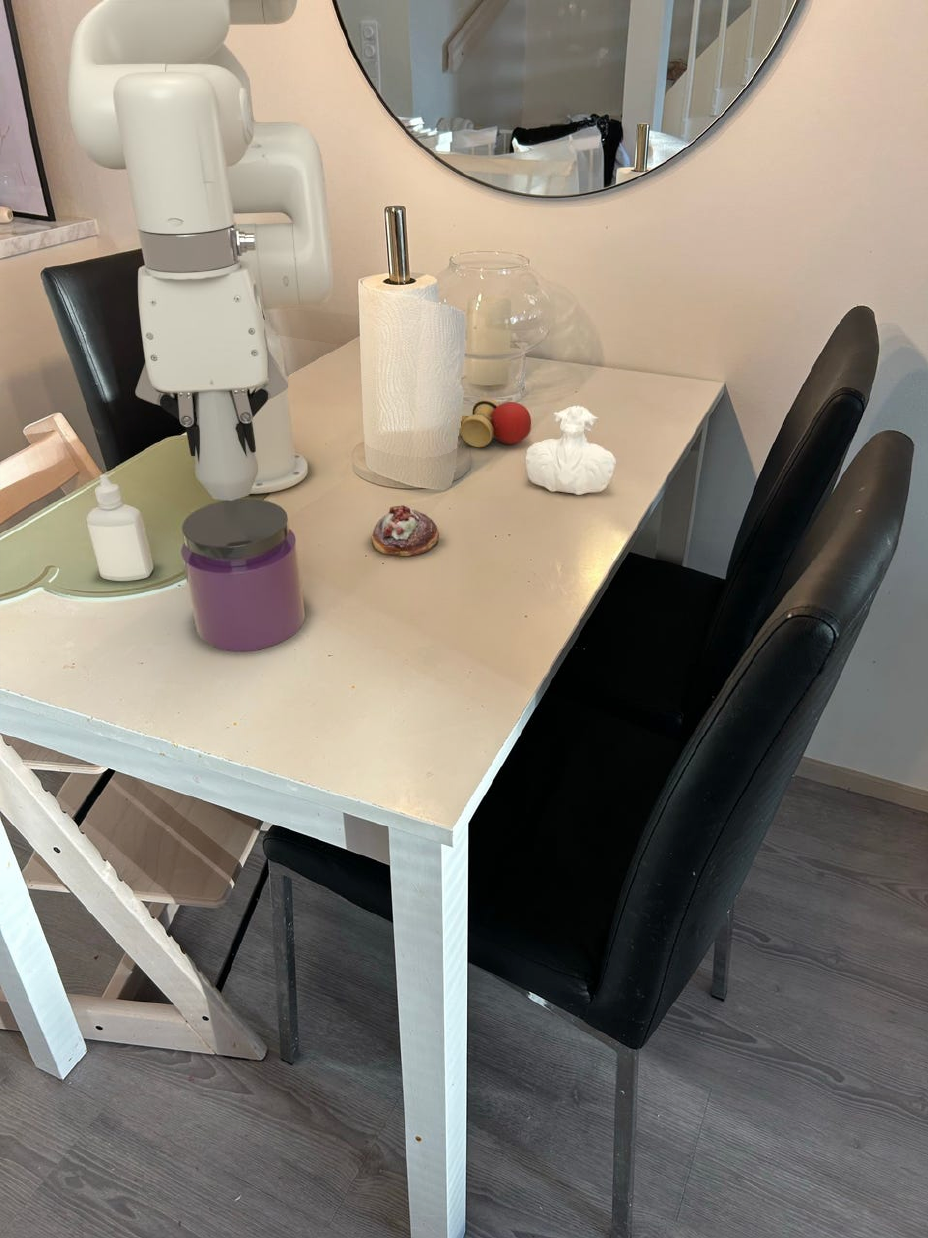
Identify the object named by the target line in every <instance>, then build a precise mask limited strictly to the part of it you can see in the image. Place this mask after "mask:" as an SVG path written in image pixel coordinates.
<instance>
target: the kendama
mask: <svg viewBox="0 0 928 1238" xmlns="http://www.w3.org/2000/svg"><path fill="white" fill-rule="evenodd" d="M461 415H462V414H461ZM531 427H532V418H531V414H530V412H529V410H528V409H527V408H526V407H525V406H524V405H523V404H521V403H519V402H516V401H506V402H503V403H501V404H500V403H499V402H497V401H496V400H494V399H492V398H488V397H483V398H481V399H479V400H477V401H476V402H475V404H473V408H472V414H471V415H464V414H463V415H462V421H461V428H459V429H460V430H459V431H460V432H459V433H460V437H461V438H462V440H463V441H464V442H465V443H466V444H468V445H469V446H471V447H473V448H483V447H486V446H487V445H489V444H490V443H491V441H492V439H493V437H495V439H496V440H498V441H499V442H501V443H503V444H507V445H516V444H519V443H521V442H522V441H524V440H525V439H526V438H528V436H529V434H530V433H531V431H532V428H531Z"/></svg>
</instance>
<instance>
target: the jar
mask: <svg viewBox="0 0 928 1238" xmlns="http://www.w3.org/2000/svg"><path fill="white" fill-rule="evenodd" d="M181 532H182V537H183V544H182V545H181V549H180V555H181V559H182V565H183V569H184V574H185V578H186V583H187V588H188V593H189V598H190V603H191V609H192V612H193V618H194V623H195V627H196V632H197V634H198V636H199V638H200V639H201V640H202V641H203V642H204V643H205V644H208V645H209V646H211V647H212V648H213V647H214V648H216V649H219V650H223V651H229V652H251V651H258V650H263V649H268V648H271V647H273V646H274V647H275V646H276V645H278V644H281V643H283V642H285V641H287V640H288V639H291V637H293V636H294V635H295V634H296V633H297V632H298V631H299V630H300V629H301V628H302V626H303V624H304V621H305V619H306V612H305V604H304V595H303V588H302V580H301V573H300V562H299V555H298V548H297V547H298V546H297V539H296V535H295V533H294V532H293V530H292V529H291V528H290V525H289V516H288V513H287V511H286V510H285V509H284V508H283V507H282V506H281V505H279V504H277V503H275V502H272V501H269V500H264V499H257V498H239V499H236V500H232V501H228V500H220V501H217V502H213V503H209V504H207V505H205V506H202V507H200V508H198V509H196V510H195V511H192V512H191V513H190V514H189V515H187V517H186V518H185V519H184V521H183V522H182V525H181Z"/></svg>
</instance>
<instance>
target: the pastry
mask: <svg viewBox="0 0 928 1238" xmlns="http://www.w3.org/2000/svg"><path fill="white" fill-rule="evenodd" d="M439 536H440V533H439V530H438V527H437V525H436V523H435V522H434V521H433V519H432V518H431V517H429V516H428V515H426V514H425V513H422V512H421V511H419V510H415V509H411V508H410V507H408V506H406V505H394V506H390V507H389V511H388V513H386V514H385V515H383V516H382V517H381V518H380V519H379V520H378V521H377V522H376V524H375V527H374V530H373V533H372V535H371V541H372V543H373V546H374V548H375V550H376V551H377V552H380V554H383V555H390V556H391V555H392V556H398V557H399V556H400V557H411V556H415V555H422V554H425V553H426V552H428V551H430V550H431V549H432V548H434V546H435V545H437V544H438V543H439Z"/></svg>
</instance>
